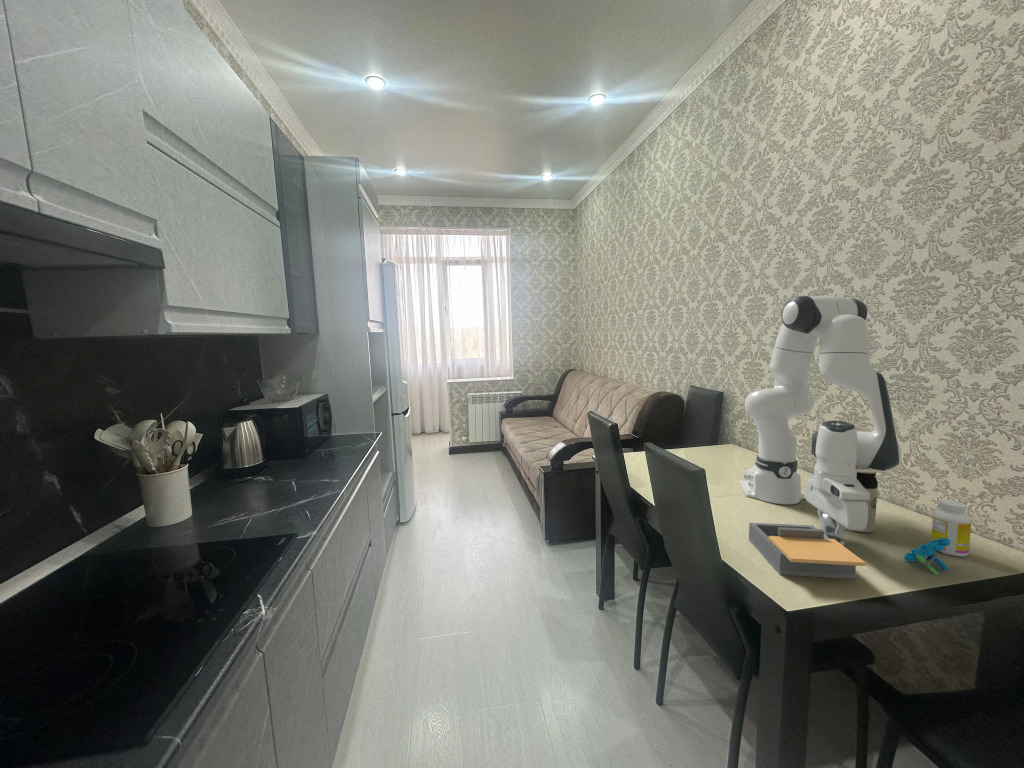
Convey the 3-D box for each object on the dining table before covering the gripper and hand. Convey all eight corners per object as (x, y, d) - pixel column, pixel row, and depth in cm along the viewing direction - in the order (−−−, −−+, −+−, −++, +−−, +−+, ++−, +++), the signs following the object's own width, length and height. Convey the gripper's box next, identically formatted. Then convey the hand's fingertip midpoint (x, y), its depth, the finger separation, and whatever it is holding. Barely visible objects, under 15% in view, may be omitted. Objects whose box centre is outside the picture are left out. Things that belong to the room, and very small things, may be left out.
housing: (748, 539, 111) (749, 522, 111) (811, 542, 109) (812, 525, 108) (779, 574, 95) (780, 554, 94) (854, 579, 92) (856, 558, 92)
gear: (910, 544, 104) (951, 530, 96) (932, 566, 101) (976, 553, 94) (893, 562, 99) (934, 548, 91) (915, 585, 96) (960, 574, 88)
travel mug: (832, 523, 120) (835, 465, 118) (850, 519, 122) (854, 462, 120) (862, 535, 112) (866, 473, 111) (881, 530, 115) (885, 470, 113)
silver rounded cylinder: (811, 537, 112) (813, 509, 111) (835, 538, 111) (837, 510, 110) (825, 547, 106) (826, 519, 105) (850, 549, 105) (852, 520, 104)
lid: (766, 537, 102) (767, 526, 102) (831, 540, 100) (832, 529, 99) (791, 561, 90) (791, 550, 90) (865, 566, 88) (866, 554, 88)
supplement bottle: (968, 551, 103) (972, 503, 102) (968, 560, 99) (973, 510, 97) (930, 542, 108) (934, 496, 107) (929, 550, 104) (933, 503, 102)
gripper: (800, 469, 118) (797, 514, 119) (846, 495, 97) (842, 549, 99) (823, 470, 117) (821, 515, 118) (875, 496, 96) (871, 550, 98)
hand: (831, 531), depth 108 cm, fingers closed on silver rounded cylinder, 4 cm apart
